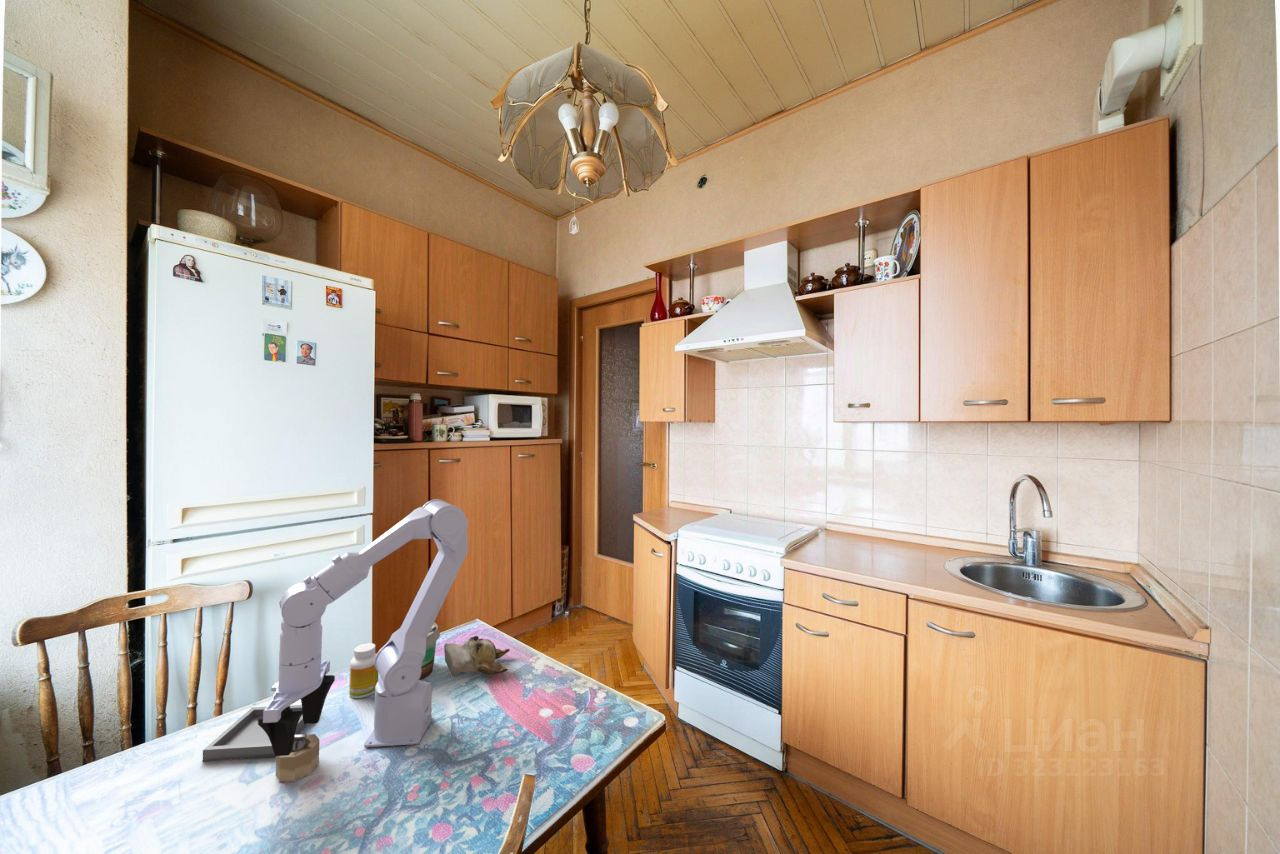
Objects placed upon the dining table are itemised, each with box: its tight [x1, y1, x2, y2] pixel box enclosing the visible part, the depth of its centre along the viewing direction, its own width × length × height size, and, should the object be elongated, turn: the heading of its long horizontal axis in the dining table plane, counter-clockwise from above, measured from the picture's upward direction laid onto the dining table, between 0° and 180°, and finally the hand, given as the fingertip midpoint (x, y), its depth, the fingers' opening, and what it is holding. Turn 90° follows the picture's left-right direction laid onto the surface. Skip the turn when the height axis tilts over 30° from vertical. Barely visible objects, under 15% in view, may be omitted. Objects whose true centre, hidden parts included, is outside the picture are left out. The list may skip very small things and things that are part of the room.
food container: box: [419, 621, 441, 681], centre depth 105 cm, size 12×6×10 cm, turn 168°
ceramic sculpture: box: [443, 635, 511, 677], centre depth 107 cm, size 11×9×15 cm
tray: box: [202, 704, 308, 762], centre depth 83 cm, size 12×12×2 cm
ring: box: [275, 733, 320, 783], centre depth 75 cm, size 5×5×4 cm
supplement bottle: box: [348, 642, 379, 699], centre depth 97 cm, size 5×5×10 cm
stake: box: [291, 733, 307, 752], centre depth 75 cm, size 2×2×6 cm
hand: (298, 737), depth 75 cm, fingers open, 7 cm apart
